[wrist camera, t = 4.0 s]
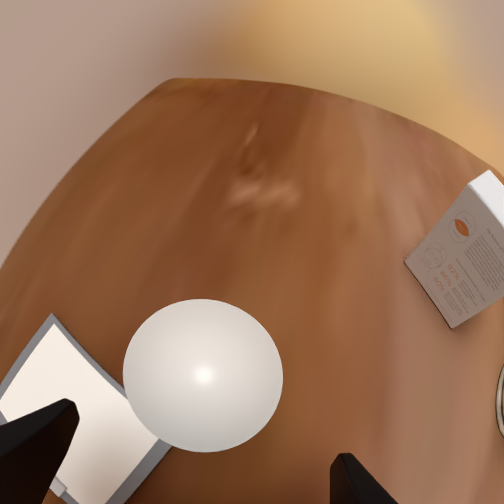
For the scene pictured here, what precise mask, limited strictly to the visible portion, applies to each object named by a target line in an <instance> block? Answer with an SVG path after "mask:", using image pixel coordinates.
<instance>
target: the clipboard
mask: <svg viewBox="0 0 504 504" xmlns="http://www.w3.org/2000/svg"><path fill="white" fill-rule="evenodd" d="M63 398H67V399H69V400H71V401H74V402H75V404H76V406H77V410H78V413H79V416H80V421H79V424H78V427H77V429H76V432H75V434H74V437H73V439H72V442H71V445H70V447H69V450H68V452H67V454H66V456H65V458H64V460H63V462H62V464H61V466H60V468H59V470H58V472H57V474H56V476H55V477H54V479H53V481H52V483H51V485H50V487H49V488H50V489H51V490H52V491H53V492H54V493H55V494H56V495H57V496H58V497H61V498H62V499H63V500H64V501H65V502H67V503H68V504H124V503H125V502H126V501H127V500H128V499H129V498H130V496H131V495H132V494H133V493H134V492H135V491H136V489H137V488H138V487H139V486H140V485H141V484H142V482H143V481H144V480H145V479H146V478H147V477H148V475H149V474H150V473H151V472H152V471H153V469H154V468H155V467H156V466H157V464H158V463H159V462H160V461H161V460H162V458H163V457H164V456H165V455H166V453H167V452H168V451H169V450H170V448H171V447H172V445H170V444H168V443H166V442H164V441H162V440H161V439H159V438H158V437H156V436H155V435H154V434H152V433H151V432H150V431H149V430H148V429H147V428H146V427H145V426H144V425H143V424H142V423H141V422H140V420H139V419H138V418H137V416H136V415H135V413H134V412H133V410H132V408H131V406H130V404H129V401H128V398H127V395H126V392H125V388H124V387H123V386H122V385H121V384H120V383H119V382H118V381H117V380H116V379H114V378H113V377H112V376H111V375H110V374H109V373H108V372H107V371H106V370H105V369H104V368H103V367H102V366H101V365H100V364H99V363H98V362H97V361H96V360H95V359H94V358H93V357H92V356H91V355H90V354H89V353H88V352H87V351H86V350H85V349H84V348H83V347H82V345H81V344H80V343H79V342H78V341H77V340H76V339H75V338H74V337H73V336H72V334H71V333H70V332H69V331H68V330H67V329H66V327H65V326H64V325H63V324H62V323H61V322H60V320H59V319H58V318H57V317H56V316H55V315H54V314H53V313H51V314H50V316H49V317H48V318H47V319H46V321H45V322H44V323H43V325H42V326H41V327H40V329H39V330H38V331H37V332H36V334H35V335H34V336H33V338H32V339H31V341H30V342H29V343H28V345H27V346H26V347H25V349H24V350H23V352H22V353H21V354H20V356H19V357H18V359H17V360H16V362H15V363H14V365H13V366H12V368H11V369H10V371H9V372H8V374H7V375H6V377H5V378H4V380H3V381H2V383H1V385H0V424H1V425H3V424H6V423H8V422H10V421H13V420H15V419H18V418H20V417H22V416H25V415H27V414H29V413H32V412H34V411H36V410H39V409H41V408H43V407H45V406H48V405H50V404H52V403H54V402H56V401H59V400H61V399H63Z"/></svg>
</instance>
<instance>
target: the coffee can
mask: <svg viewBox="0 0 504 504" xmlns="http://www.w3.org/2000/svg"><path fill="white" fill-rule="evenodd" d="M496 411H497V420H498V425H499V428H500V431H501V433H502V435H503V436H504V366H503V369H502V371H501V374H500V378H499V383H498V389H497V398H496Z"/></svg>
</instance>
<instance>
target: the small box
mask: <svg viewBox="0 0 504 504" xmlns="http://www.w3.org/2000/svg"><path fill="white" fill-rule="evenodd" d="M404 262H405V264H406V265H407V266H408V268H409V269H410V270H411V272H412V273H413V274H414V276H415V277H416V278H417V280H418V281H419V282H420V284H421V285H422V287H423V288H424V289H425V291H426V292H427V293H428V295H429V296H430V298H431V299H432V301H433V302H434V304H435V305H436V306H437V308H438V309H439V311H440V312H441V314H442V315H443V317H444V318H445V320H446V321H447V323H448V324H449V326H450V327H451V328H455V327H456V326H458V325H460V324H462V323H463V322H465V321H466V320H468V319H470V318H471V317H473V316H475V315H476V314H478V313H479V312H481V311H483V310H484V309H486V308H487V307H489V306H490V305H492V304H493V303H495V302H496V301H498V300H499V299H501V298H502V297H504V186H503V185H502V183H501V182H500V181H499V180H498V179H497V178H496V177H495V175H494V174H493V173H492V172H491V171H490V170H487V171H486V172H484V173H483V174H481V175H480V176H478V177H477V178H475V179H474V180H472V181H471V182H469V183H468V184H467V185H466V186H465V188H464V189H463V191H462V192H461V193H460V195H459V196H458V197H457V199H456V200H455V201H454V203H453V204H452V205H451V207H450V208H449V209H448V210H447V212H446V213H445V214H444V215H443V217H442V218H441V219H440V220H439V221H438V223H437V224H436V225H435V226H434V227H433V229H432V230H431V231H430V232H429V233H428V234H427V236H426V237H425V238H424V239H423V240H422V242H421V243H420V244H419V245H418V246H417V247H416V248H415V249H414V251H413V252H412V253H411V254H410V255H409V256H408V257H407V258H406V259H405V261H404Z"/></svg>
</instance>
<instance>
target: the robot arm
mask: <svg viewBox="0 0 504 504" xmlns="http://www.w3.org/2000/svg"><path fill="white" fill-rule="evenodd" d="M79 421H80V416H79V413H78V410H77V406H76V404H75V402H74V401H71V400H69V399H67V398H63V399H61V400H59V401H56V402H54V403H52V404H50V405H48V406H45V407H43V408H41V409H39V410H36V411H34V412H32V413H29V414H27V415H25V416H22V417H20V418H18V419H15V420H13V421H10V422H8V423H6V424H3V425H1V426H0V504H42V502H43V500H44V498H45V496H46V493H47V491H48V489H49V487H50V485H51V483H52V481H53V479H54V477H55V476H56V474H57V472H58V470H59V468H60V466H61V464H62V462H63V460H64V458H65V456H66V454H67V452H68V450H69V447H70V445H71V442H72V439H73V437H74V434H75V432H76V429H77V427H78V424H79ZM330 504H398V503H397V502H396V501H395V500H394V499H393V498H392V497H391V496H390V495H389V493H388V492H387V491H386V490H385V489H384V488H383V487H382V486H381V485H380V484H379V483H378V482H377V481H376V480H375V479H374V477H373V476H372V475H371V474H370V473H369V472H368V471H367V470H366V469H365V468H364V467H363V465H362V464H361V463H360V462H359V461H358V460H357V459H356V458H355V456H354V455H353V454H351V453H340V454H338V456H337V457H336V459H335V460H334V462H333V463H332V465H331V467H330Z"/></svg>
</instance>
